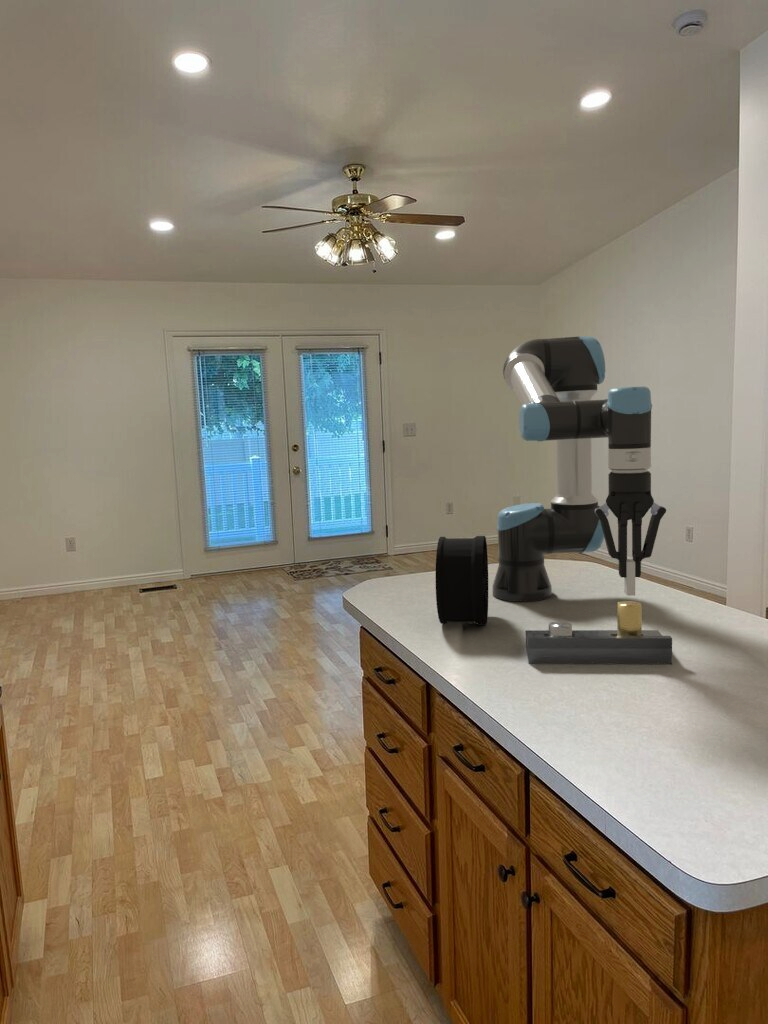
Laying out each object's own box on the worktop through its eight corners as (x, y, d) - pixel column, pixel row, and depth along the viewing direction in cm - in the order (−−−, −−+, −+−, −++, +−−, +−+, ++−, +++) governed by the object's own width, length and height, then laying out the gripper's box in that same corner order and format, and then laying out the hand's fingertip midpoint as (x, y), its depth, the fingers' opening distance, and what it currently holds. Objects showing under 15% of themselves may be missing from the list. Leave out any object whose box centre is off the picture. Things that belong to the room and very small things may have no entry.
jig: (525, 644, 144) (525, 621, 144) (658, 644, 140) (658, 620, 140) (528, 663, 134) (528, 638, 133) (671, 664, 130) (672, 638, 129)
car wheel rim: (484, 636, 151) (481, 545, 148) (437, 635, 153) (433, 545, 150) (489, 610, 170) (486, 528, 167) (447, 609, 172) (444, 529, 169)
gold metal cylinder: (615, 650, 139) (615, 601, 137) (638, 650, 138) (638, 600, 136) (619, 658, 134) (619, 607, 133) (643, 658, 134) (643, 607, 132)
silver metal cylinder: (548, 650, 141) (547, 621, 140) (570, 650, 140) (570, 621, 139) (550, 657, 136) (549, 628, 135) (573, 657, 136) (573, 628, 135)
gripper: (596, 473, 128) (597, 599, 132) (671, 471, 126) (670, 598, 130) (590, 470, 136) (591, 589, 139) (661, 467, 134) (660, 588, 137)
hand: (629, 593), depth 134 cm, fingers closed
